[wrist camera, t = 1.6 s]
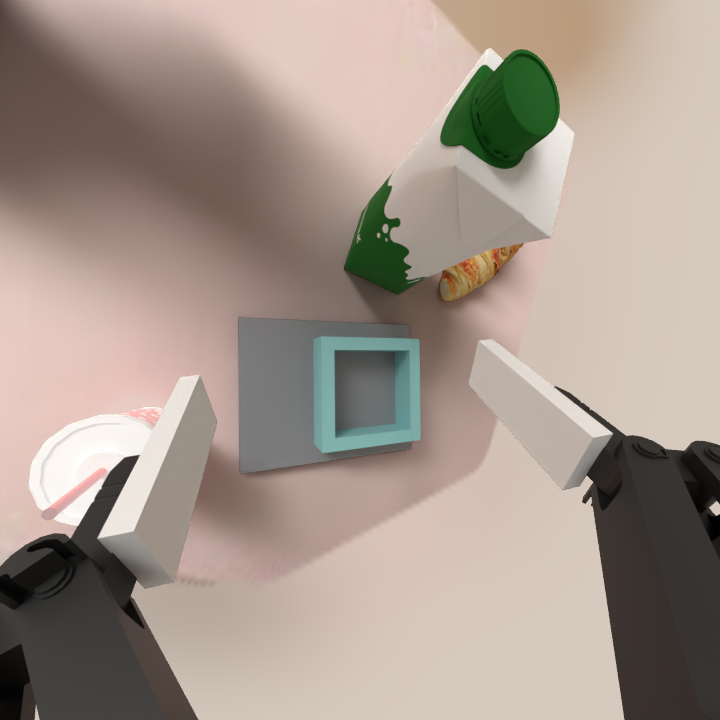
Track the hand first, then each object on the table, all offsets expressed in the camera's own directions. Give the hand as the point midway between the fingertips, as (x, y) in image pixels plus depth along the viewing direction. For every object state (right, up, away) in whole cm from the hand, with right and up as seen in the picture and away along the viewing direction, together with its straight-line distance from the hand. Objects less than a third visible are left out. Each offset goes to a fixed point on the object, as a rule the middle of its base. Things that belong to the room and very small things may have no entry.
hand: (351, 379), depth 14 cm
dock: (-3, -2, +17) cm, 17 cm away
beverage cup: (-17, -5, +11) cm, 21 cm away
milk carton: (+3, +13, +19) cm, 23 cm away
